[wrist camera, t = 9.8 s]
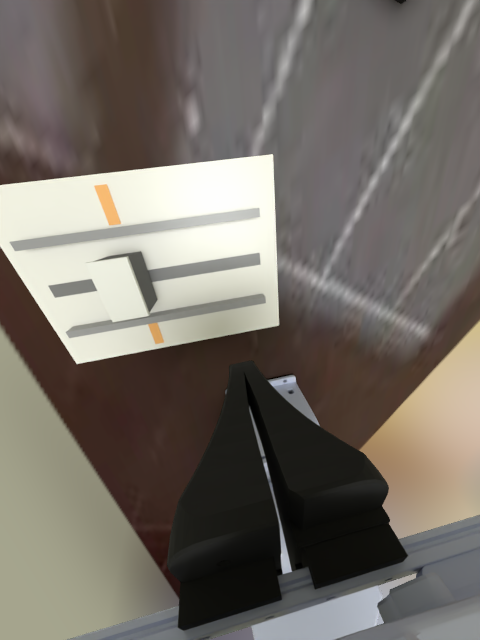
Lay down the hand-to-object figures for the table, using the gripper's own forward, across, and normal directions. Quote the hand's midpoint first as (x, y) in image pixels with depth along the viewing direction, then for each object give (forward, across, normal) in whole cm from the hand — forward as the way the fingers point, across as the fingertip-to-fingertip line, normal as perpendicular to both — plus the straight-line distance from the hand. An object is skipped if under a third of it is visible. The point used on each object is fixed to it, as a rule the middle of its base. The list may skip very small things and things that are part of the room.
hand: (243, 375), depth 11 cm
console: (+10, +5, -5) cm, 12 cm away
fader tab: (+8, +7, -5) cm, 12 cm away
